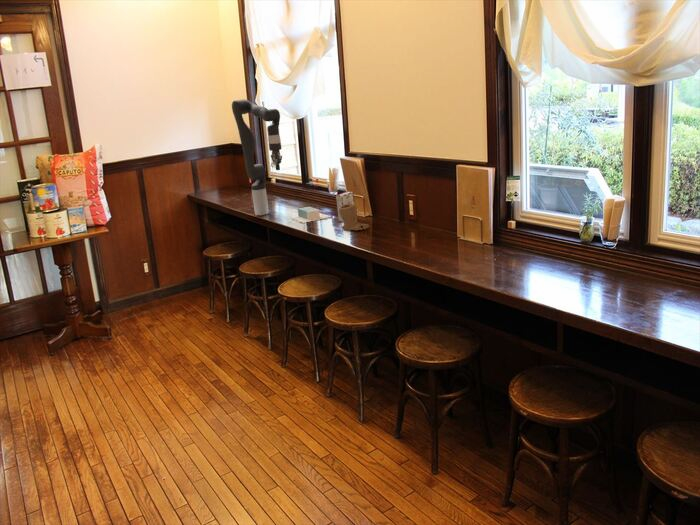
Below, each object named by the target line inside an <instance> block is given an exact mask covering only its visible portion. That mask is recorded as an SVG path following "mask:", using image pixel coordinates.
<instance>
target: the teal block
mask: <svg viewBox="0 0 700 525" xmlns="http://www.w3.org/2000/svg"><path fill="white" fill-rule="evenodd" d="M297 213H298V217H302V218H305V219H308V220H309V219H314V218H319V217H320V215H319V213H320V208H319V209H318V208H315V207H313V206H305V207H300V208H297Z"/></svg>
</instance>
